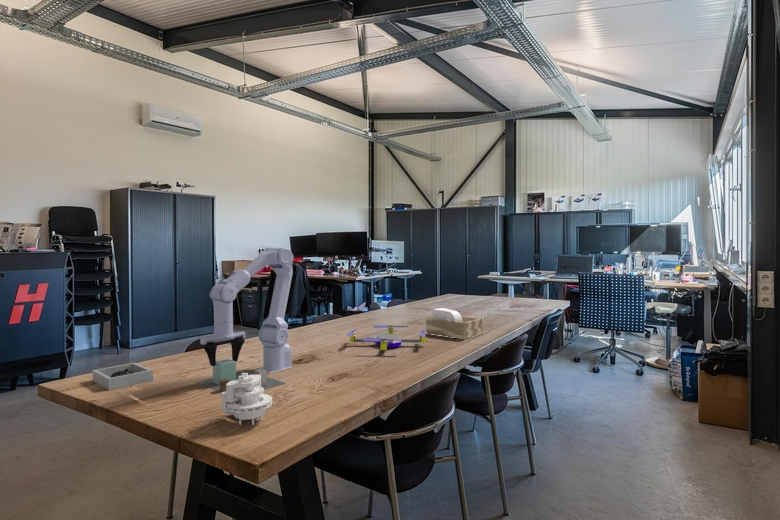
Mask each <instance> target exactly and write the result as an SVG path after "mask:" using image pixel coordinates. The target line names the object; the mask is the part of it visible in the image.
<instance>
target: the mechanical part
mask: <svg viewBox="0 0 780 520" xmlns="http://www.w3.org/2000/svg"><path fill="white" fill-rule="evenodd" d="M241 375H242V376H238V380H234V381H229V382H228V383H227V384H226V391H225V392H223V393H221V408H222V409H221V410H222V412H223V413H224V414H225V415H232V416H234V418H235V419H238V424H239V426H241V425H242V422H243V420H251V426H255V419H256V418H257V419H258V418H259V419H260V420H259V421H263V416H264V415H265V414H266V409H268V408H270V407H271V406H272V404H273V397H272V396H271V395H269V394H266V393H265V390H264V389H263V387H261V375H248V373H242V374H241Z"/></svg>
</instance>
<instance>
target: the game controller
mask: <svg viewBox="0 0 780 520" xmlns="http://www.w3.org/2000/svg"><path fill="white" fill-rule="evenodd" d="M128 374H132V372H131V371H128V369H125V371H119V372H115V373H113V374H112V375H111V378H113V377H118V376H123V375H128Z"/></svg>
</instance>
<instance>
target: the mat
mask: <svg viewBox="0 0 780 520" xmlns="http://www.w3.org/2000/svg"><path fill="white" fill-rule="evenodd" d="M242 373H248V375H255V372H253V371H249V370H242V371H239V372H238V371H237V372H236V380H238V376H242V375H241V374H242ZM196 383H197V384H199V385H202V386H205V387H206V388H209V389H211V390H214V391H217V392H219V393H221V394H222V393H223V391H220V385H219V384H216V383H213V377H212V378H208V379H204V380H200V381H199V380H198V381H196ZM287 384H288V383H287V382H284V381H281V380H277V379H275V378H272V377H268V376H267V386H265V387H263V389H264V391H265V390H269V389H272V388H276V387H278V386H279V387H280V386H282V385H287Z"/></svg>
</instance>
